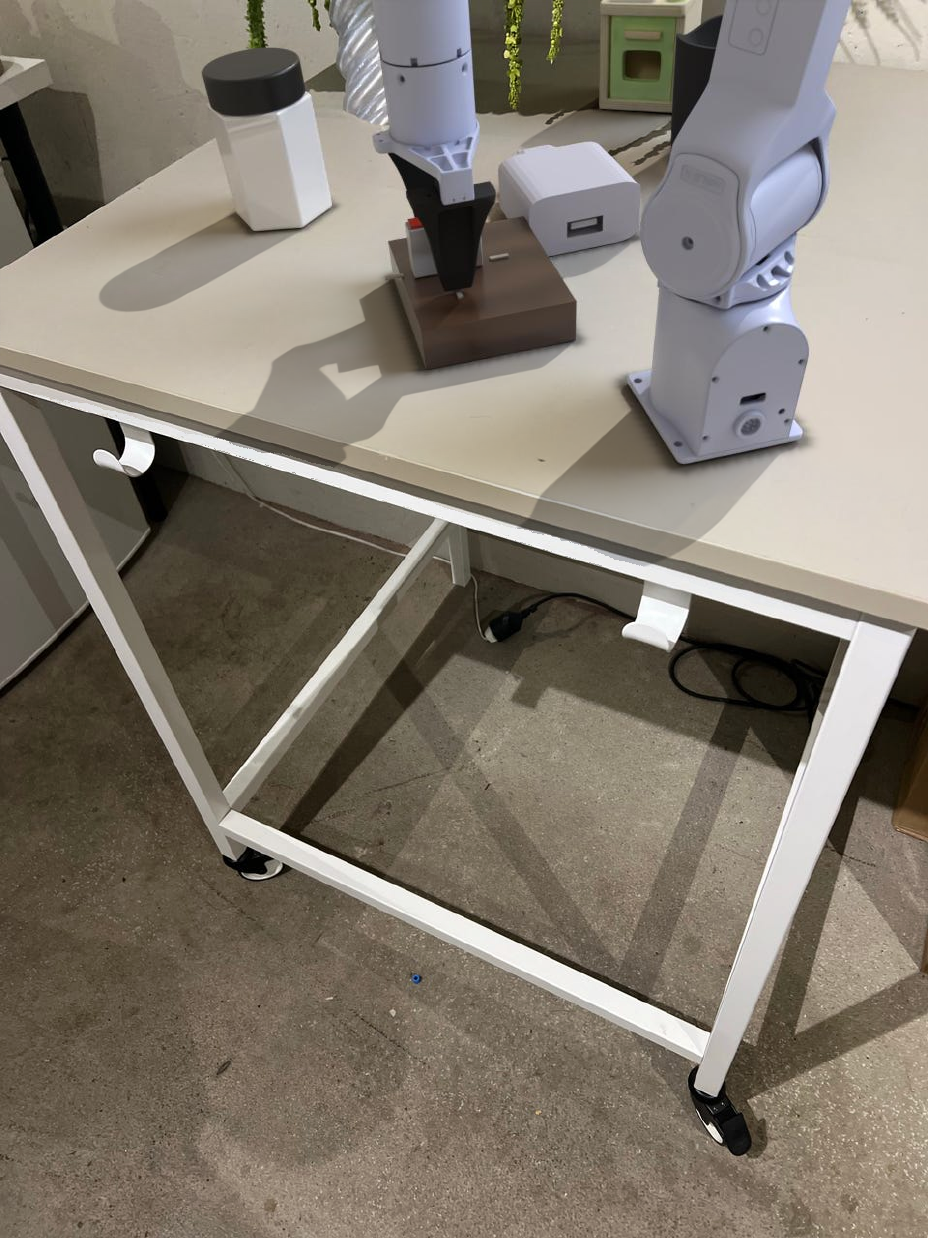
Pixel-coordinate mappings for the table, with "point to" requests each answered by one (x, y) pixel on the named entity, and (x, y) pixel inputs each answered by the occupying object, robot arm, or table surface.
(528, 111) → the table surface
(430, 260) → the block
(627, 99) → the toy kitchen stove
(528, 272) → the brown square block base
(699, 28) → the pen holder
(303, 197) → the jar
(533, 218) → the charger
